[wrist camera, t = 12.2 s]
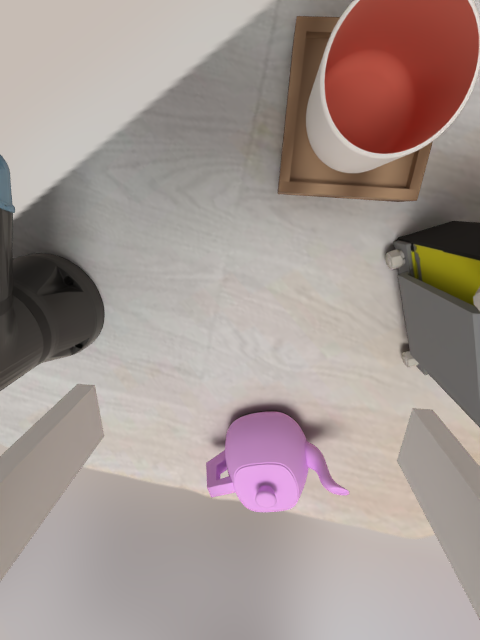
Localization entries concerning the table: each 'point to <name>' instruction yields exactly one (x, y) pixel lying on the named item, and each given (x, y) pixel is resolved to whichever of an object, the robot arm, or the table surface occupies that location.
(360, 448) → the table surface
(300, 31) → the wooden tray
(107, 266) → the table surface
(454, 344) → the electrical component
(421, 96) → the cup
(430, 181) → the table surface
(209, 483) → the teapot
